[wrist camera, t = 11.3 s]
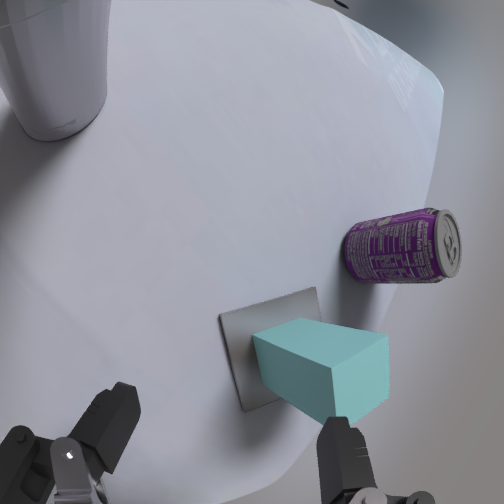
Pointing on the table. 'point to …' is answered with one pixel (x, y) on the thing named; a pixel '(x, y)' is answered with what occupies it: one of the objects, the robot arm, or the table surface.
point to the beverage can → (405, 248)
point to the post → (242, 345)
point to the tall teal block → (325, 367)
